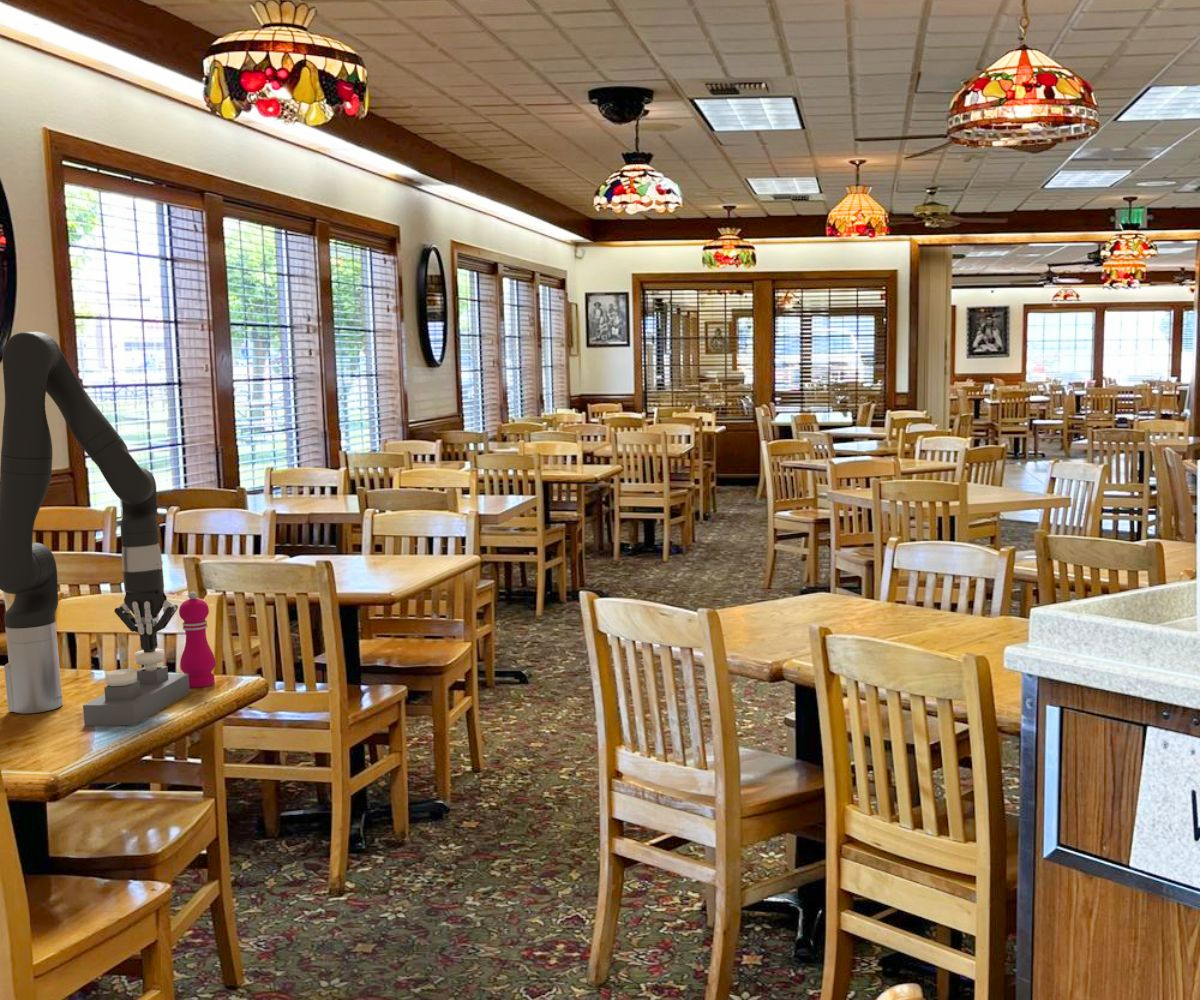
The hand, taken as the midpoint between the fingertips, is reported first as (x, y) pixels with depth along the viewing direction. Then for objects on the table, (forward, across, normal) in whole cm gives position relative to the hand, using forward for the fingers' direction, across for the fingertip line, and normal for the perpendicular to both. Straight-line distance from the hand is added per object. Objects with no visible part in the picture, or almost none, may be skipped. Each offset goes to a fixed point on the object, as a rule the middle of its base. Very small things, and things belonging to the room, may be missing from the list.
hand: (149, 651), depth 259 cm
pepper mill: (+10, +4, +13) cm, 17 cm away
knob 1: (+6, 0, -12) cm, 13 cm away
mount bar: (+10, 0, -6) cm, 12 cm away
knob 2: (+5, 0, 0) cm, 5 cm away
